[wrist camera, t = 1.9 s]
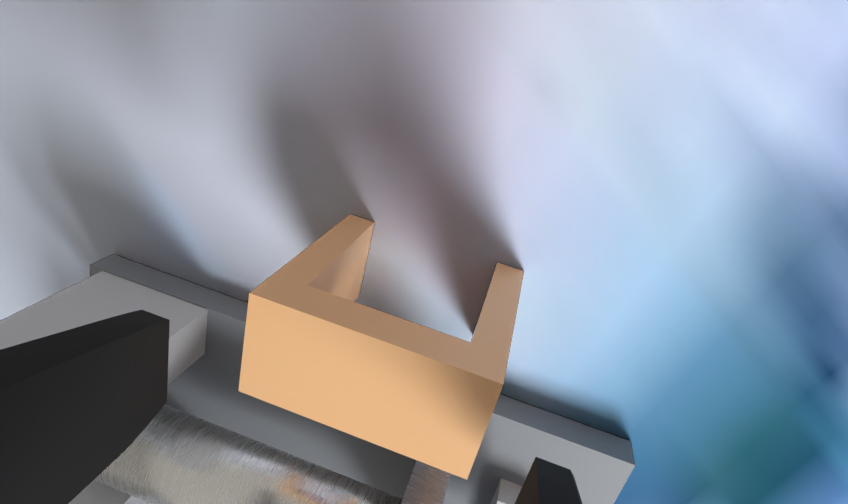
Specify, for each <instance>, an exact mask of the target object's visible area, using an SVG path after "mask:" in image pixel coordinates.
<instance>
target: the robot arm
mask: <svg viewBox="0 0 848 504" xmlns="http://www.w3.org/2000/svg"><path fill="white" fill-rule="evenodd" d="M169 325H170V320H169V319H166V318H163V317H161V316H158V315H155V314H153V313H150V312H147V311H145V310H138V311H134V312H129V313H125V314H122V315H118V316H114V317H111V318H107V319H104V320H100V321H97V322H93V323H90V324H86V325H83V326H80V327H76V328H73V329H69V330H66V331H63V332H59V333H56V334H52V335H49V336H46V337H42V338H39V339H35V340H32V341H28V342H25V343H21V344H18V345H15V346H11V347H8V348H4V349H1V350H0V504H68V503H69V502H71V501H72V500H73V499H74V498H75V497H76V496H77V495H78V494H79V493H80V492H81V491H82V490H84V489H85V488H86V487H87V486H88V485H89V484H90V483H91V482H92V481H93V480H94V479H95V478H96V477H97V476H99V475H100V474H101V473H102V472H103V471H104V470H105V469H106V468H107V467H108V466H109V465H110V464H111V463H112V462H113V461H114V460H116V459H117V458H118V457H119V456H120V455H121V454H122V453H123V452H124V451H125V450H126V449H127V448H128V447H129V446H130V445H131V444H132V443H133V441H134V440H135V439H136V438H137V437H138V436H139V435H140V433H141V432H142V431H143V430H144V429H145V428H146V427H147V425H148V424H149V423H150V422H151V421H152V419H153V418H154V417H155V416H156V414H157V413H158V412H159V411H160V410H161V408H162V407H163V406H164V405H165V403H166V402H167V385H168V355H169ZM515 504H582V500H581V497H580V494H579V491H578V488H577V485H576V481H575V478H574V476H573V474H572V472H571V470H570V469H567V468H565V467H562V466H559V465H557V464H554V463H551V462H549V461H546V460H543V459H541V458H538V457H535V460H534V462H533V464H532V466H531V468H530V471H529V473H528V475H527V477H526V480H525V482H524V484H523V486H522V488H521V491H520V493H519V495H518V497H517V499H516V502H515Z"/></svg>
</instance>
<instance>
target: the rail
mask: <svg viewBox="0 0 848 504" xmlns="http://www.w3.org/2000/svg"><path fill="white" fill-rule="evenodd" d="M247 308H248V303H247V302H244V301H241V300H238V299H236V298H233V297H230V296H227V295H225V294H222V293H219V292H216V291H214V290H211V289H208V288H205V287H203V286H200V285H197V284H194V283H191V282H189V281H186V280H183V279H180V278H178V277H175V276H172V275H169V274H167V273H164V272H161V271H158V270H156V269H153V268H150V267H147V266H144V265H142V264H139V263H136V262H133V261H131V260H128V259H125V258H122V257H120V256H117V255H114V254H112V255H110V256H108V257H106V258H104V259H102V260H99V261H97V262H95V263H93V264H91V265H90V277H89V278H87V279H85V280H83V281H81V282H79V283H77V284H74V285H72V286H70V287H68V288H66V289H64V290H62V291H60V292H58V293H56V294H54V295H52V296H50V297H48V298H46V299H44V300H42V301H39V302H37V303H35V304H33V305H31V306H29V307H27V308H25V309H23V310H21V311H19V312H17V313H15V314H13V315H11V316H9V317H6V318H4V319H2V320H0V350H1V349H4V348H8V347H11V346H15V345H18V344H21V343H25V342H28V341H32V340H35V339H39V338H42V337H46V336H49V335H52V334H56V333H59V332H63V331H66V330H69V329H73V328H76V327H80V326H83V325H86V324H90V323H93V322H97V321H100V320H104V319H107V318H111V317H114V316H118V315H122V314H125V313H129V312H134V311H138V310H145V311H147V312H150V313H153V314H155V315H158V316H161V317H163V318H166V319H169V320H170V325H169V355H168V385H167V402H166V403H165V404H167V405H169V406H172V407H174V408H177V409H179V410H182V411H184V412H187V413H189V414H192V415H194V416H197V417H199V418H202V419H204V420H207V421H209V422H212V423H214V424H217V425H219V426H222V427H224V428H227V429H229V430H232V431H234V432H237V433H239V434H242V435H244V436H247V437H249V438H252V439H254V440H257V441H259V442H262V443H264V444H267V445H269V446H272V447H274V448H277V449H279V450H282V451H284V452H287V453H289V454H292V455H294V456H296V457H299V458H301V459H304V460H306V461H309V462H311V463H314V464H316V465H319V466H321V467H324V468H326V469H329V470H331V471H334V472H336V473H339V474H341V475H344V476H346V477H349V478H351V479H354V480H356V481H359V482H361V483H364V484H366V485H369V486H371V487H374V488H376V489H379V490H381V491H384V492H386V493H389V494H391V495H394V496H396V497H399V498H401V499H403V497H404V494H405V491H406V489H407V486H408V483H409V480H410V477H411V475H412V472H413V469H414V466H415V463H416V461H417V460H415V459H412V458H410V457H407V456H405V455H402V454H399V453H397V452H394V451H392V450H389V449H386V448H384V447H381V446H379V445H376V444H374V443H371V442H368V441H366V440H363V439H361V438H358V437H356V436H353V435H350V434H348V433H345V432H343V431H340V430H337V429H335V428H332V427H330V426H327V425H325V424H322V423H319V422H317V421H314V420H312V419H309V418H307V417H304V416H301V415H299V414H296V413H294V412H291V411H289V410H286V409H283V408H281V407H278V406H276V405H273V404H270V403H268V402H265V401H263V400H260V399H258V398H255V397H252V396H250V395H247V394H245V393H242V392H240V391H238V390H239V381H240V372H241V363H242V354H243V344H244V335H245V326H246V317H247ZM535 457H538V458H541V459H543V460H546V461H549V462H551V463H554V464H557V465H559V466H562V467H565V468H567V469H570V470H571V472H572V474H573V476H574V478H575V481H576V485H577V488H578V491H579V494H580V497H581V500H582V504H614V502H615V500H616V498H617V497H618V495H619V493H620V491H621V490H622V488H623V486H624V484H625V482H626V481H627V479H628V477H629V475H630V474H631V472H632V470H633V468H634V467H635V461H634V455H633V449H632V443H631V441H628V440H625V439H623V438H620V437H617V436H614V435H612V434H609V433H606V432H603V431H601V430H598V429H595V428H592V427H589V426H587V425H584V424H581V423H578V422H576V421H573V420H570V419H567V418H565V417H562V416H559V415H556V414H554V413H551V412H548V411H545V410H542V409H540V408H537V407H534V406H531V405H529V404H526V403H523V402H520V401H518V400H515V399H512V398H509V397H507V396H504V395H501V394H500V395H499V398H498V400H497V403H496V405H495V408H494V411H493V413H492V416H491V418H490V421H489V424H488V426H487V429H486V432H485V434H484V437H483V439H482V442H481V445H480V447H479V450H478V452H477V455H476V458H475V460H474V463H473V466H472V468H471V471H470V473H469V476H468V479H467V480H466V479H464V478H461V477H459V476H456V475H453V474H451V475H450V479H449V483H448V486H447V490H446V494H445V498H444V501H443V504H515V502H516V499H517V497H518V495H519V493H520V491H521V488H522V486H523V484H524V482H525V480H526V477H527V475H528V473H529V471H530V468H531V466H532V464H533V462H534V460H535ZM68 504H149V503H147V502H144V501H142V500H140V499H137V498H135V497H133V496H131V495H128V494H126V493H124V492H121V491H119V490H117V489H114V488H112V487H110V486H107V485H105V484H103V483H100V482H98V481H96V480H93V481H92V482H91V483H90V484H89V485H88V486H87V487H86V488H85V489H84V490H82V491H81V492H80V493H79V494H78V495H77V496H76V497H75V498H74V499H73V500H72V501H71V502H69V503H68Z"/></svg>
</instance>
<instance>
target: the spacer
mask: <svg viewBox="0 0 848 504" xmlns="http://www.w3.org/2000/svg"><path fill="white" fill-rule="evenodd" d="M374 224H375V222H372V221H369V220H366V219H363V218H360V217H357V216H354V215H351V214H350V215H348V216H347V217H346V218H344V219H343V220H342V221H341V222H339V223H338V224H337V225H336V226H334V227H333V228H332V229H330V230H329V231H328V232H327V233H325V234H324V235H323V236H321V237H320V238H319V239H318V240H316V241H315V242H314V243H313V244H311V245H310V246H309V247H307V248H306V249H305V250H304V251H302V252H301V253H300V254H298V255H297V256H296V257H295V258H293V259H292V260H291V261H289V262H288V263H287V264H286V265H284V266H283V267H282V268H281V269H279V270H278V271H277V272H275V273H274V274H273V275H272V276H270V277H269V278H268V279H266V280H265V281H264V282H263V283H261V284H260V285H259V286H258V287H256V288H255V289H254V290H252V291H251V292H250V293H249V299H248V308H247V317H246V326H245V335H244V344H243V354H242V363H241V372H240V381H239V390H238V391H240V392H242V393H245V394H247V395H250V396H252V397H255V398H258V399H260V400H263V401H265V402H268V403H270V404H273V405H276V406H278V407H281V408H283V409H286V410H289V411H291V412H294V413H296V414H299V415H301V416H304V417H307V418H309V419H312V420H314V421H317V422H319V423H322V424H325V425H327V426H330V427H332V428H335V429H337V430H340V431H343V432H345V433H348V434H350V435H353V436H356V437H358V438H361V439H363V440H366V441H368V442H371V443H374V444H376V445H379V446H381V447H384V448H386V449H389V450H392V451H394V452H397V453H399V454H402V455H405V456H407V457H410V458H412V459H415V460H417V461H420V462H423V463H425V464H428V465H430V466H433V467H435V468H438V469H441V470H443V471H446V472H448V473H451V474H453V475H456V476H459V477H461V478H464V479H466V480H467V479H468V476H469V473H470V471H471V468H472V466H473V463H474V460H475V458H476V455H477V452H478V450H479V447H480V445H481V442H482V439H483V437H484V434H485V432H486V429H487V426H488V424H489V421H490V418H491V416H492V413H493V411H494V408H495V405H496V403H497V400H498V398H499V395H500V392H501V390H502V387H503V384H504V379H505V374H506V368H507V363H508V357H509V352H510V346H511V341H512V335H513V330H514V324H515V319H516V313H517V308H518V302H519V297H520V291H521V286H522V280H523V275H524V271H522V270H519V269H516V268H513V267H510V266H507V265H504V264H501V263H498V262H497V265H496V268H495V271H494V274H493V277H492V280H491V283H490V286H489V289H488V292H487V295H486V298H485V301H484V304H483V307H482V310H481V313H480V316H479V319H478V322H477V325H476V328H475V331H474V334H473V337H472V340H471V343H470V342H467V341H465V340H462V339H459V338H456V337H453V336H450V335H447V334H445V333H442V332H439V331H436V330H433V329H430V328H428V327H425V326H422V325H419V324H416V323H413V322H410V321H408V320H405V319H402V318H399V317H396V316H393V315H390V314H388V313H385V312H382V311H379V310H376V309H373V308H371V307H368V306H365V305H362V304H359V303H356V302H355V300H356V299H357V298H358V297H359V294H360V289H361V284H362V280H363V275H364V270H365V266H366V261H367V256H368V252H369V247H370V242H371V238H372V233H373V228H374Z"/></svg>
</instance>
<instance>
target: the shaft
mask: <svg viewBox="0 0 848 504" xmlns="http://www.w3.org/2000/svg"><path fill="white" fill-rule="evenodd" d="M450 475H451V473H448V472H446V471H443V470H441V469H438V468H435V467H433V466H430V465H428V464H425V463H423V462H420V461H416V463H415V466H414V469H413V472H412V475H411V477H410V480H409V483H408V486H407V489H406V491H405V494H404V497H403V499H401V498H399V497H396V496H394V495H391V494H389V493H386V492H384V491H381V490H379V489H376V488H374V487H371V486H369V485H366V484H364V483H361V482H359V481H356V480H354V479H351V478H349V477H346V476H344V475H341V474H339V473H336V472H334V471H331V470H329V469H326V468H324V467H321V466H319V465H316V464H314V463H311V462H309V461H306V460H304V459H301V458H299V457H296V456H294V455H292V454H289V453H287V452H284V451H282V450H279V449H277V448H274V447H272V446H269V445H267V444H264V443H262V442H259V441H257V440H254V439H252V438H249V437H247V436H244V435H242V434H239V433H237V432H234V431H232V430H229V429H227V428H224V427H222V426H219V425H217V424H214V423H212V422H209V421H207V420H204V419H202V418H199V417H197V416H194V415H192V414H189V413H187V412H184V411H182V410H179V409H177V408H174V407H172V406H169V405H167V404H165V405H164V406H163V407H162V408H161V410H160V411H159V412H158V413H157V414H156V416H155V417H154V418H153V419H152V421H151V422H150V423H149V424H148V425H147V427H146V428H145V429H144V430H143V431H142V432H141V433H140V435H139V436H138V437H137V438H136V439H135V440H134V441H133V443H132V444H131V445H130V446H129V447H128V448H127V449H126V450H125V451H124V452H123V453H122V454H121V455H120V456H119V457H118V458H117V459H116V460H114V461H113V462H112V463H111V464H110V465H109V466H108V467H107V468H106V469H105V470H104V471H103V472H102V473H101V474H100V475H99V476H97V477H96V478H95V479H94V480H96V481H98V482H100V483H103V484H105V485H107V486H110V487H112V488H114V489H117V490H119V491H121V492H124V493H126V494H128V495H131V496H133V497H135V498H137V499H140V500H142V501H144V502H147V503H149V504H443V501H444V498H445V494H446V490H447V486H448V483H449V479H450Z"/></svg>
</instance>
